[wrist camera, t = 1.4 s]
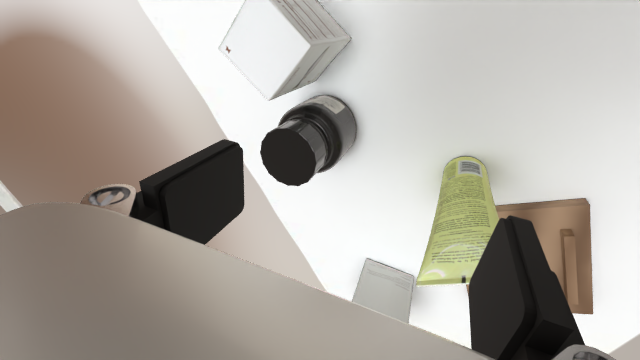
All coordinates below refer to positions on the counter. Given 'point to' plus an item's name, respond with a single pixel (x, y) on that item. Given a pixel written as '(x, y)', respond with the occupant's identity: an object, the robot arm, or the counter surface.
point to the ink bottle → (308, 140)
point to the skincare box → (385, 290)
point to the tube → (459, 225)
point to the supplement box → (282, 44)
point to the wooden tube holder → (562, 244)
